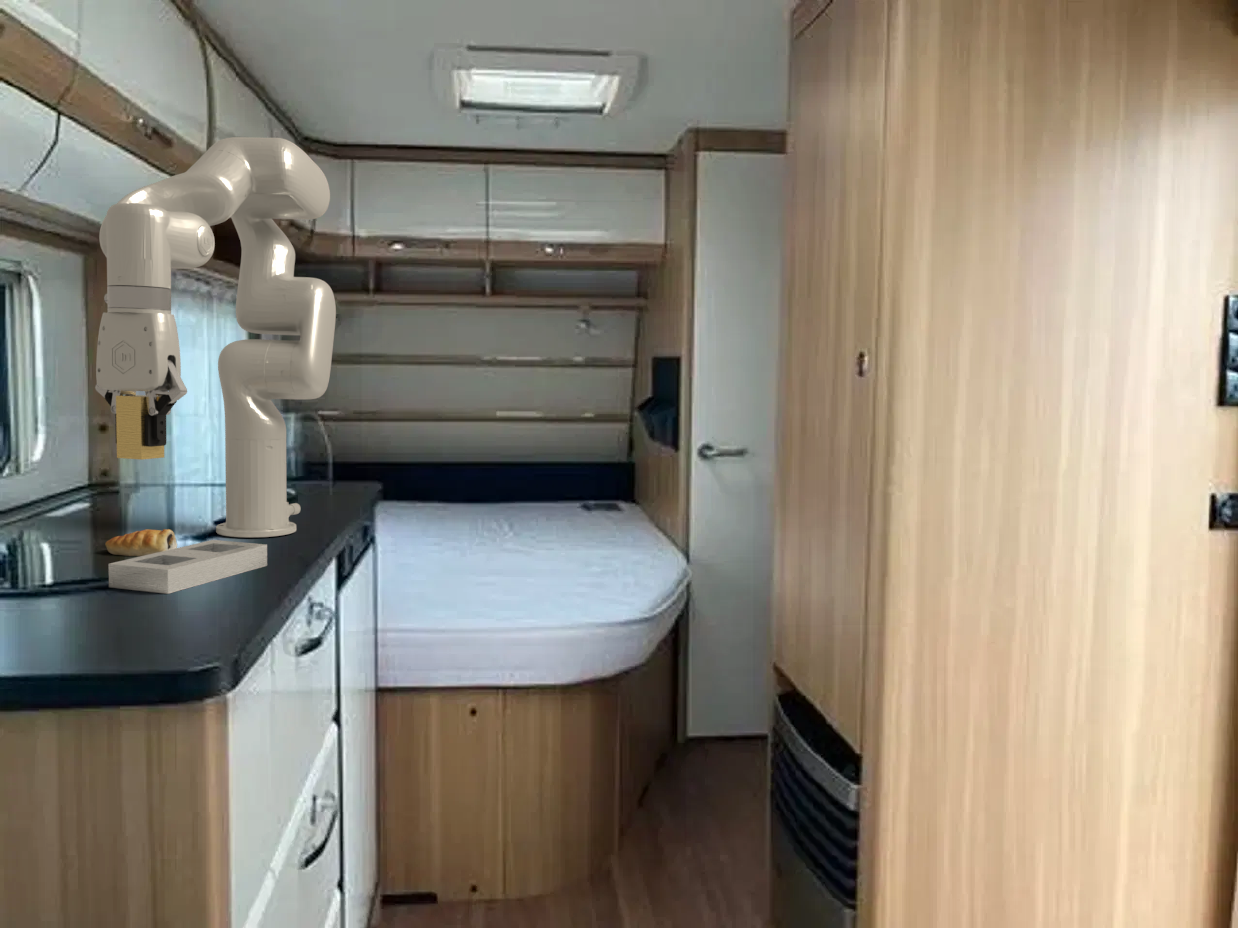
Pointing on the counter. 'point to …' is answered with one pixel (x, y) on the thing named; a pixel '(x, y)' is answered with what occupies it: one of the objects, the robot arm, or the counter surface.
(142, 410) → the wooden block
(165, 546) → the pastry
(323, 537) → the counter surface
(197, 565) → the board with square holes
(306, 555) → the counter surface
